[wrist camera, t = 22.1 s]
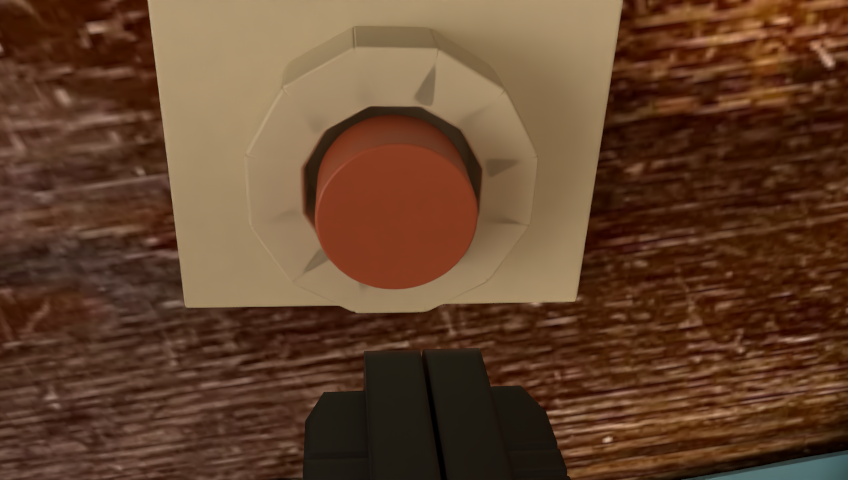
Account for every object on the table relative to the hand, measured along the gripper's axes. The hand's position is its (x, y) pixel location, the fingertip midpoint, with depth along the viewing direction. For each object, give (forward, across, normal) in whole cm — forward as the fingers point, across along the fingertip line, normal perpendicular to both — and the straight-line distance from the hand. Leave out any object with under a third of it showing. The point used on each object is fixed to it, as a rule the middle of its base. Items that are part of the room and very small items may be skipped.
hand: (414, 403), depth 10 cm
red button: (+7, 0, 0) cm, 7 cm away
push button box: (+10, 0, 0) cm, 10 cm away
